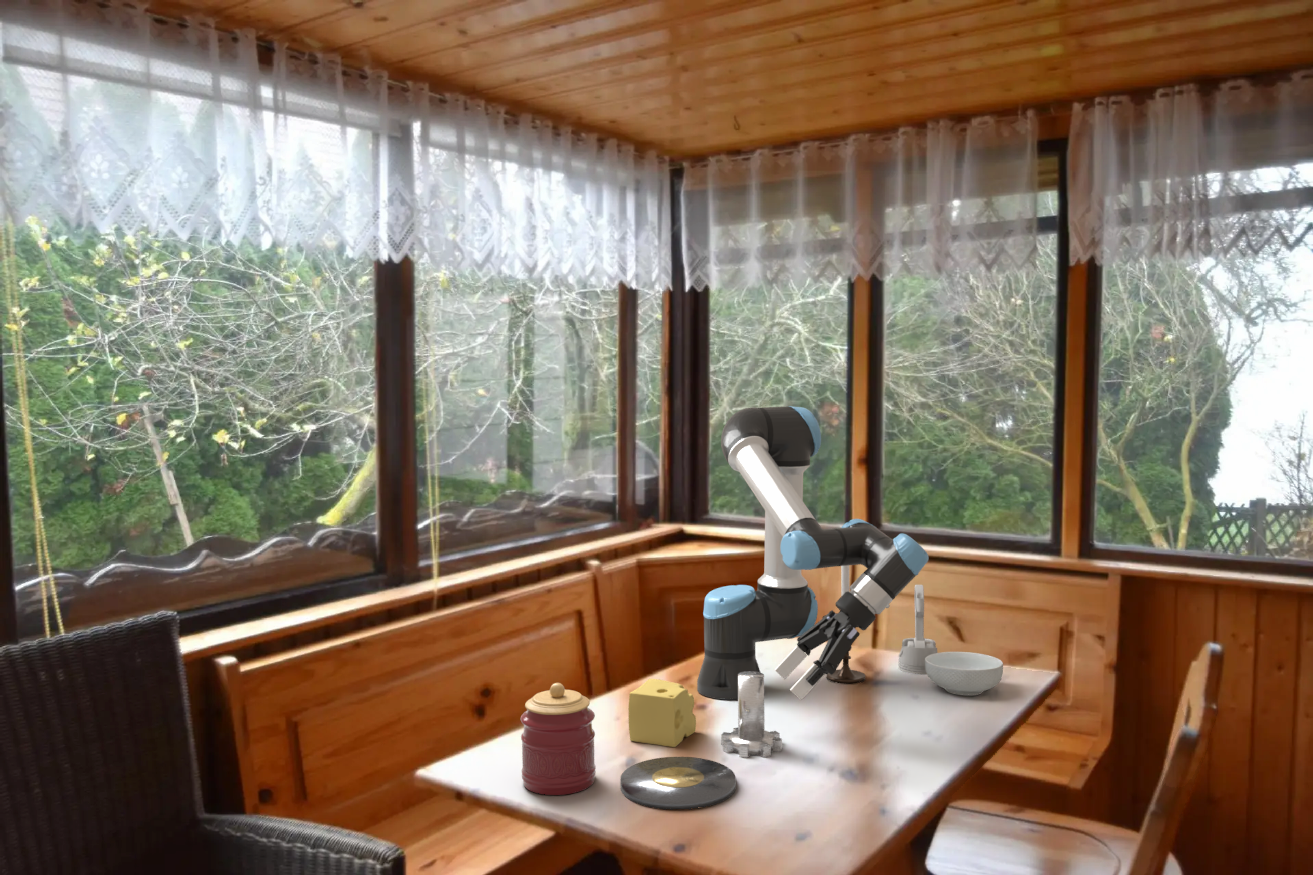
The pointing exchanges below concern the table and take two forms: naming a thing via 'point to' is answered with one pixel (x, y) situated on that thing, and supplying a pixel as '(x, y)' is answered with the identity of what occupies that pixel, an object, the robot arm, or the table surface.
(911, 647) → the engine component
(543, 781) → the canister
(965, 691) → the cereal bowl
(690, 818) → the table surface
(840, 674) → the candlestick
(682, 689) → the cheese
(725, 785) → the carrier plate
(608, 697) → the table surface
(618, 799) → the table surface
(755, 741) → the sun gear
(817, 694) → the table surface
